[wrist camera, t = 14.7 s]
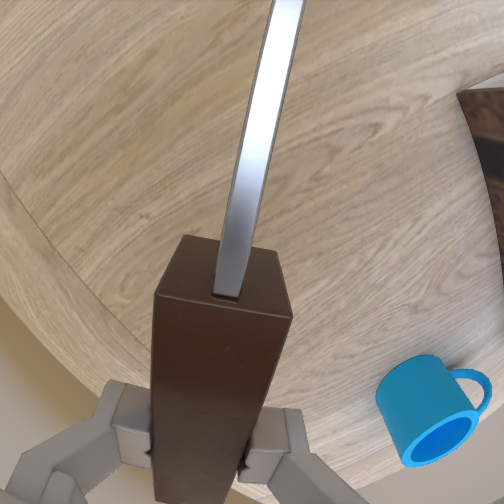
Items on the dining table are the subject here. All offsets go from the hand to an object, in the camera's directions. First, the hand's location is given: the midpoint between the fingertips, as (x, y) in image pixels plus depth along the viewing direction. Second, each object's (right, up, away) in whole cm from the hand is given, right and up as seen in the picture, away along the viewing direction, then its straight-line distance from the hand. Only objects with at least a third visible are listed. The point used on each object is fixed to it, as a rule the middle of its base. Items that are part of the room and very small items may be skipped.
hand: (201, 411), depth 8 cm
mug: (+20, -9, +20) cm, 30 cm away
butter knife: (+1, +6, -1) cm, 6 cm away
